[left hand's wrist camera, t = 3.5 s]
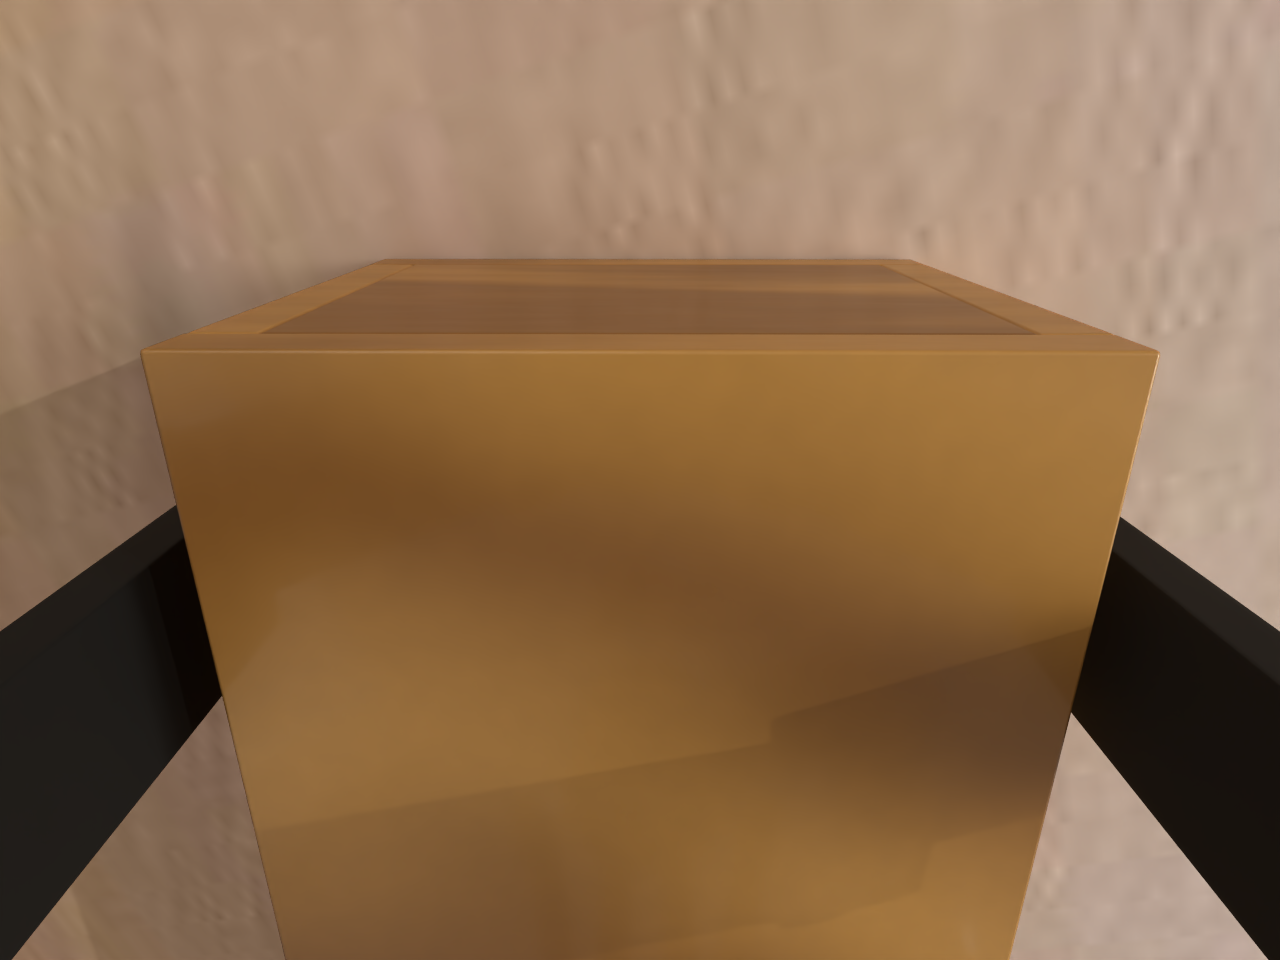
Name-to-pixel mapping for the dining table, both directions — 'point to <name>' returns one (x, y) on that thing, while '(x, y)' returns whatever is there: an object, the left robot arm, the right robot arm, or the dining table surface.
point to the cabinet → (648, 599)
